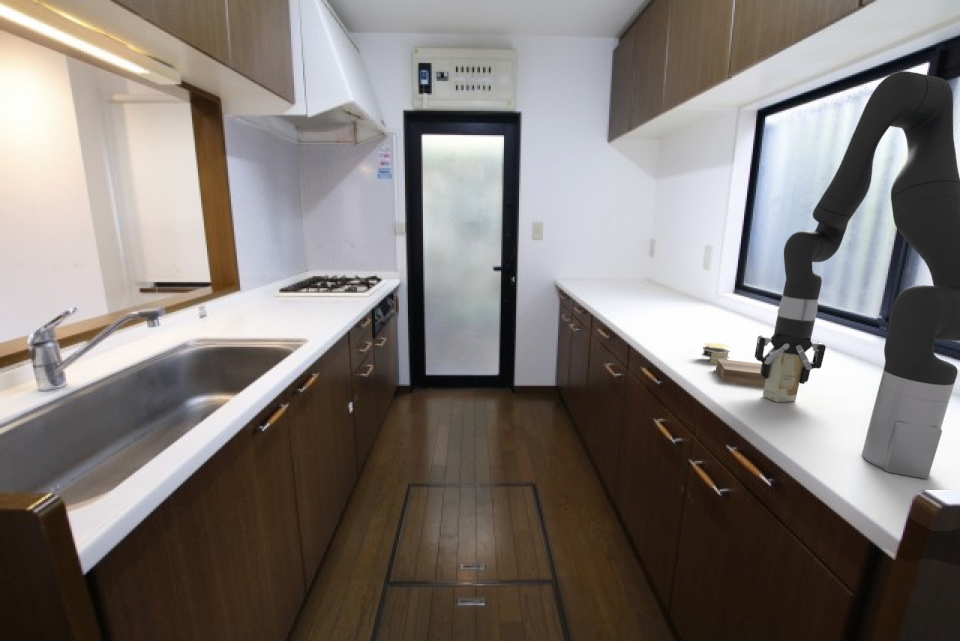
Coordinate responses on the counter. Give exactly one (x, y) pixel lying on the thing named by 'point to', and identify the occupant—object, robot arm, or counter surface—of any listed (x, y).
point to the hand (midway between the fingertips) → (782, 380)
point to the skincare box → (783, 378)
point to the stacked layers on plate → (715, 352)
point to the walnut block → (740, 372)
